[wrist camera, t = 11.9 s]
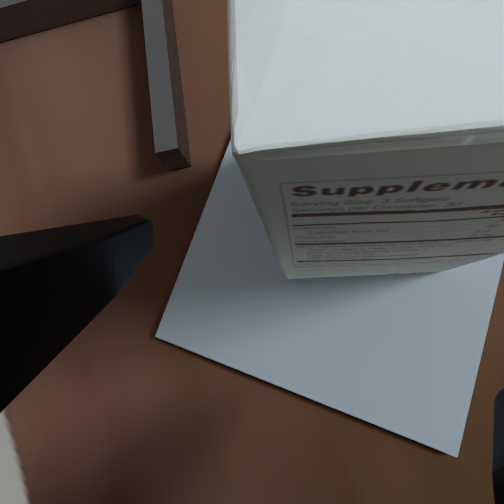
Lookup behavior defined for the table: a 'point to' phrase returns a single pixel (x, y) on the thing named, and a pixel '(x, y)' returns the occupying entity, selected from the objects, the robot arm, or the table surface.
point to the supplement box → (371, 131)
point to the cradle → (157, 52)
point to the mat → (333, 324)
